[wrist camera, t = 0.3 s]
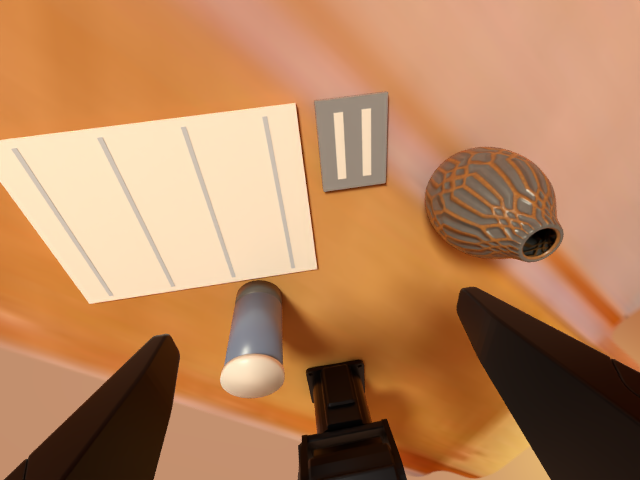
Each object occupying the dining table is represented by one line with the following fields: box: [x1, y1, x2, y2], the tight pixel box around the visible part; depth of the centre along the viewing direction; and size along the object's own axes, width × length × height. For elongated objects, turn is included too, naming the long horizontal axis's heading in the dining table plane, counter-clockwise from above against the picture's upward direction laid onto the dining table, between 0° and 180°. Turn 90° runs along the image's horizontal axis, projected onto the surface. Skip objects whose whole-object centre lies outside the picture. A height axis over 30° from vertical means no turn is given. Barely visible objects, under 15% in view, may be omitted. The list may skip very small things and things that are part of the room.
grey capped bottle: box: [220, 280, 284, 398], centre depth 23 cm, size 4×4×8 cm
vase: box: [425, 147, 563, 262], centre depth 19 cm, size 7×7×9 cm
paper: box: [0, 103, 317, 304], centre depth 21 cm, size 13×19×1 cm
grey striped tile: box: [314, 92, 388, 192], centre depth 20 cm, size 6×5×1 cm
